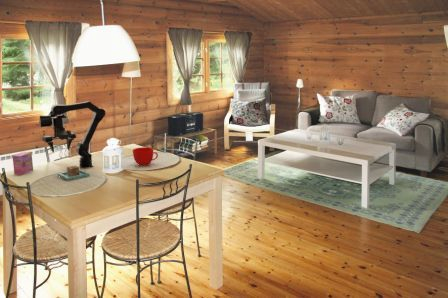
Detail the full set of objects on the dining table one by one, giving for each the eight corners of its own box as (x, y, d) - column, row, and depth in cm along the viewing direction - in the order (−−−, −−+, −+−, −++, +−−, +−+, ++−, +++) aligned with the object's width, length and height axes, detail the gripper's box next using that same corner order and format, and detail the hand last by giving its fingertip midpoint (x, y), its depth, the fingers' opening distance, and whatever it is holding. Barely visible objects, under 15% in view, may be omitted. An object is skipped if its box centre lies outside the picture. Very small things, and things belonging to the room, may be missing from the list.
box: (22, 175, 250) (20, 155, 247) (14, 174, 251) (11, 155, 248) (33, 170, 260) (31, 151, 257) (25, 170, 261) (23, 151, 258)
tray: (79, 172, 256) (79, 169, 255) (89, 176, 246) (89, 173, 246) (58, 176, 247) (57, 173, 247) (67, 181, 238) (67, 177, 237)
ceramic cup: (152, 168, 262) (152, 152, 260) (129, 166, 268) (128, 150, 266) (163, 163, 274) (162, 148, 272) (140, 161, 280) (139, 146, 278)
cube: (76, 173, 250) (75, 165, 249) (79, 175, 246) (79, 167, 245) (67, 175, 247) (67, 167, 246) (71, 177, 243) (70, 168, 242)
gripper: (48, 129, 242) (50, 155, 246) (79, 125, 255) (81, 150, 258) (40, 127, 250) (43, 152, 254) (71, 123, 263) (73, 148, 266)
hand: (60, 151), depth 258 cm, fingers open, 9 cm apart
